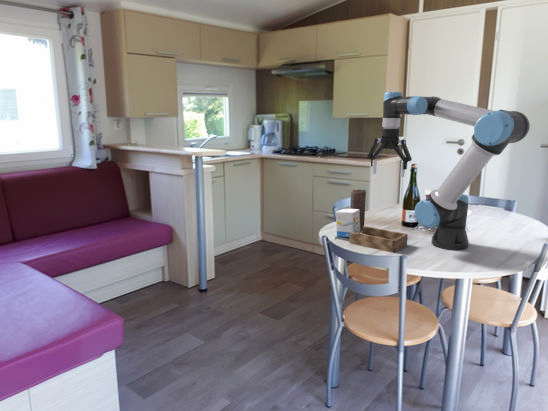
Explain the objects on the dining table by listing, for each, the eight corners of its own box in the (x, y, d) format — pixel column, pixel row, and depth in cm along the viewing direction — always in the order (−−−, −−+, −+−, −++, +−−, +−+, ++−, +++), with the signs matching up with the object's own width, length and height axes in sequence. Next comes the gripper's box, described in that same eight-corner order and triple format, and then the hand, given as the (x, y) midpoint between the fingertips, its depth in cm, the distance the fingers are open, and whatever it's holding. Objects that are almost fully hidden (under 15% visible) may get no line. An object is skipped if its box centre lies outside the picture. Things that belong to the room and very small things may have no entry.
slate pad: (361, 236, 206) (361, 234, 206) (350, 241, 198) (350, 239, 198) (346, 233, 211) (346, 231, 211) (335, 238, 203) (335, 236, 203)
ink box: (353, 237, 198) (352, 212, 196) (336, 236, 203) (335, 211, 201) (361, 233, 205) (360, 208, 203) (344, 232, 210) (343, 208, 208)
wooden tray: (406, 244, 194) (407, 234, 193) (394, 252, 184) (395, 241, 183) (363, 236, 207) (363, 225, 205) (349, 243, 196) (349, 232, 195)
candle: (363, 232, 212) (366, 191, 208) (348, 231, 214) (350, 191, 209) (364, 228, 220) (366, 188, 215) (349, 227, 221) (350, 188, 217)
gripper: (421, 128, 191) (417, 177, 196) (368, 126, 206) (366, 171, 211) (415, 129, 185) (411, 179, 190) (361, 127, 200) (359, 173, 205)
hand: (387, 175), depth 200 cm, fingers open, 13 cm apart
